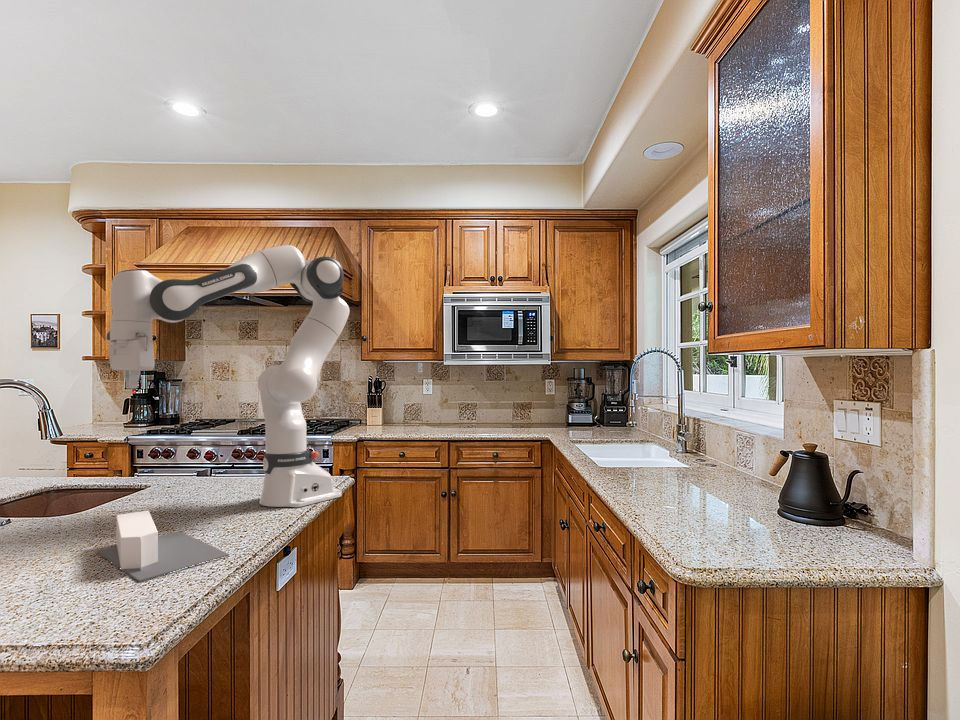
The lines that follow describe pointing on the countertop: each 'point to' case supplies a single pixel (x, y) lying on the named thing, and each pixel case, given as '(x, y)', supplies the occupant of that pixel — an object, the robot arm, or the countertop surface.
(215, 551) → the mat
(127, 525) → the milk
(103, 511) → the countertop surface
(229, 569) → the countertop surface
